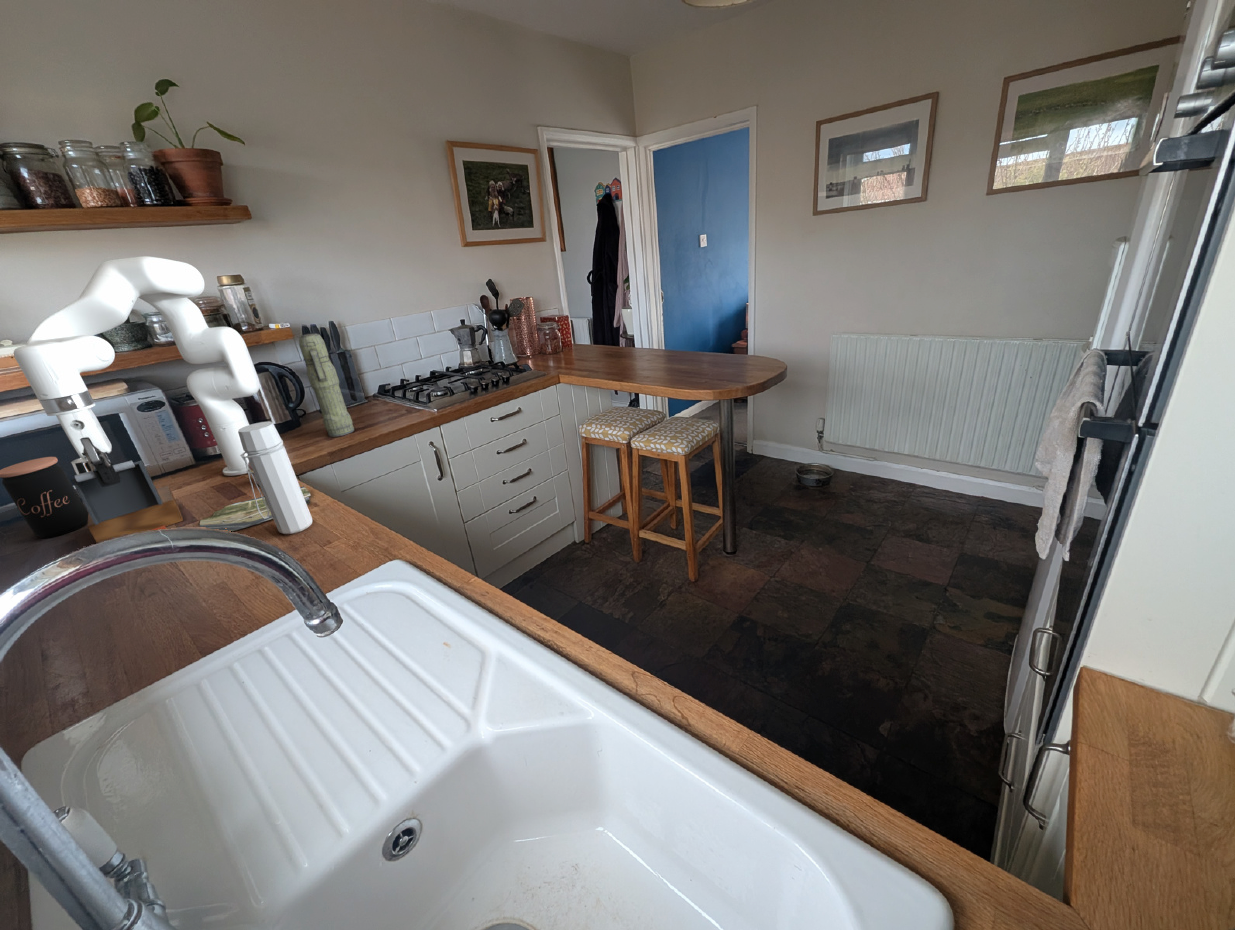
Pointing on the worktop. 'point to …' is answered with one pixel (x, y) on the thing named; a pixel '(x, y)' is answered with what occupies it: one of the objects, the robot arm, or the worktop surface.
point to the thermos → (325, 385)
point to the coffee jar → (45, 497)
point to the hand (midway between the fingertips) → (111, 482)
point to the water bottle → (275, 477)
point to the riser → (139, 518)
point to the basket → (117, 492)
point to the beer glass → (82, 466)
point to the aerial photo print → (242, 514)
